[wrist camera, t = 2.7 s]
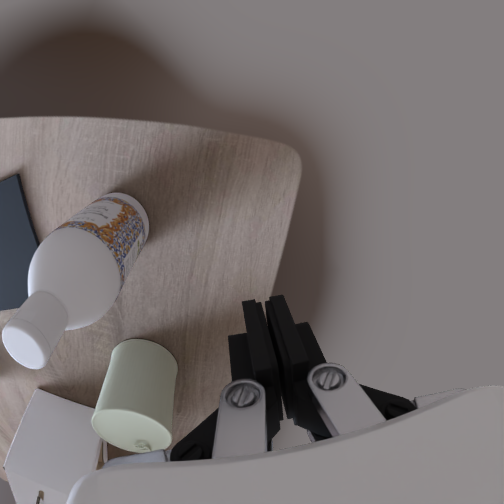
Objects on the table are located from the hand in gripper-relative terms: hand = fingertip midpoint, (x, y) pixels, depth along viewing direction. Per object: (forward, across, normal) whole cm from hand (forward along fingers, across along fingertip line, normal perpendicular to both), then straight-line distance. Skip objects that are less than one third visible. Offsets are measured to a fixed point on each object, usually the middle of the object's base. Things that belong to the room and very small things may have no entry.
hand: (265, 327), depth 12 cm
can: (+20, +15, +19) cm, 31 cm away
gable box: (+20, +36, +36) cm, 55 cm away
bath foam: (+20, +12, 0) cm, 23 cm away
